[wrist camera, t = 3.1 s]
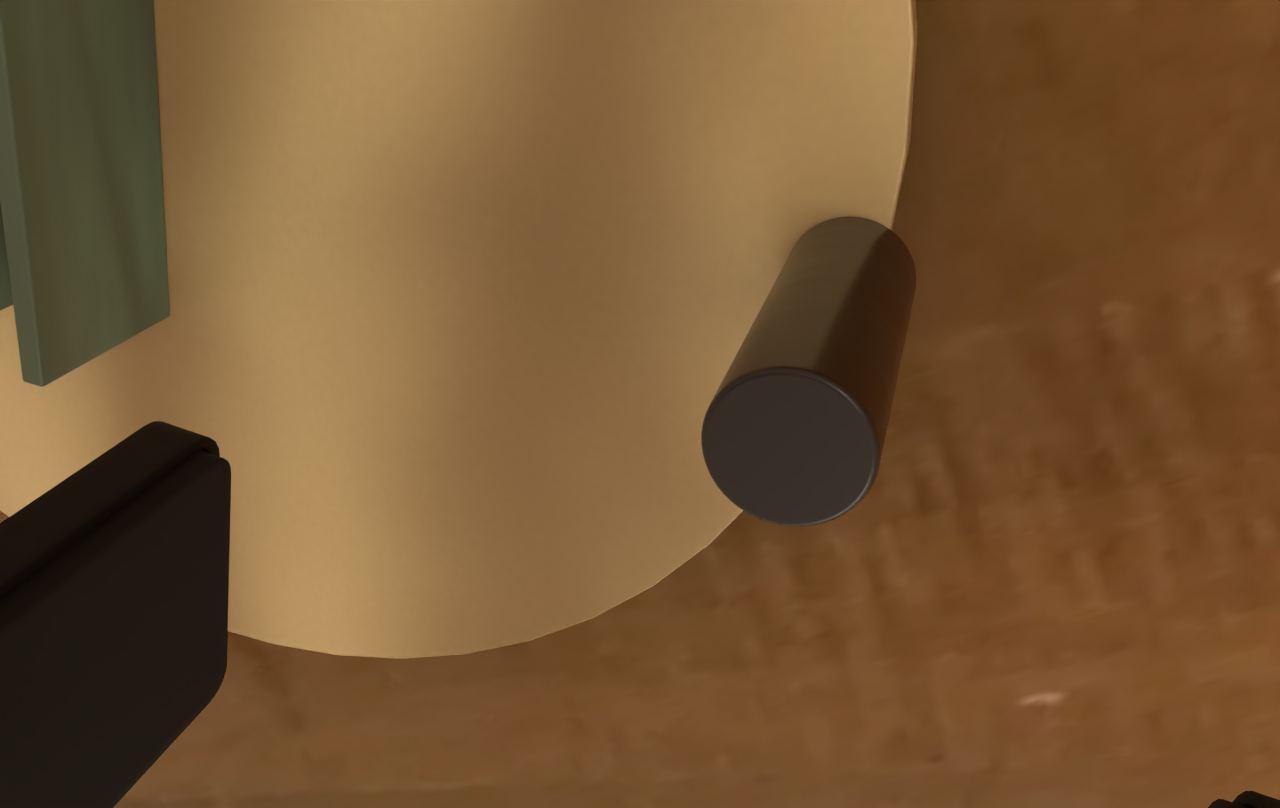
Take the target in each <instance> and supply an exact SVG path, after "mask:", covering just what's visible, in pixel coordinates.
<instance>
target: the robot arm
mask: <svg viewBox="0 0 1280 808" xmlns="http://www.w3.org/2000/svg"><path fill="white" fill-rule="evenodd" d="M230 507H231V466H230V464H229V462H228V461H227V460H226V459H224V458H222V457H220V453H219V447H218V445H217V443H216V441H214V440H213V439H211V438H210V437H207V436H204V435H201V434H198V433H195V432H192V431H189V430H186V429H183V428H180V427H177V426H174V425H171V424H168V423H165V422H163V421H153V422H151V423H149V424H147V425H145V426H143V427H142V428H140V429H139V430H137V431H136V432H134V433H133V434H132V435H130V436H129V437H127V438H126V439H124V440H123V441H121V442H120V443H118V444H117V445H115V446H114V447H112V448H111V449H109V450H108V451H106V452H105V453H103V454H102V455H100V456H99V457H98V458H96V459H95V460H93V461H92V462H90V463H89V464H87V465H86V466H84V467H83V468H81V469H80V470H78V471H77V472H75V473H74V474H72V475H71V476H69V477H68V478H66V479H65V480H64V481H62V482H61V483H59V484H58V485H56V486H55V487H53V488H52V489H50V490H49V491H47V492H46V493H44V494H43V495H41V496H40V497H38V498H37V499H35V500H34V501H32V502H31V503H30V504H28V505H27V506H25V507H24V508H22V509H21V510H19V511H18V512H16V513H15V514H13V515H12V516H10V517H9V518H7V519H6V520H4V521H3V522H1V523H0V808H113V807H114V806H115V805H116V804H117V803H118V801H119V800H120V799H121V798H122V797H123V796H124V795H125V794H126V793H127V792H128V791H129V790H130V788H131V787H132V786H133V785H134V784H135V783H136V782H137V781H138V780H139V779H140V778H141V776H142V775H143V774H144V773H145V772H146V771H147V770H148V769H149V768H150V767H151V766H152V765H153V763H154V762H155V761H156V760H157V759H158V758H159V757H160V756H161V755H162V754H163V753H164V751H165V750H166V749H167V748H168V747H169V746H170V745H171V744H172V743H173V742H174V741H175V739H176V738H177V737H178V736H179V735H180V734H181V733H182V732H183V731H184V730H185V729H186V728H187V726H188V725H189V724H190V723H191V722H192V721H193V720H194V719H195V718H196V717H197V716H198V714H199V713H200V712H201V711H202V710H203V709H204V708H205V707H206V706H207V705H208V704H209V702H210V701H211V700H212V699H213V697H214V696H215V694H216V693H217V691H218V689H219V688H220V685H221V683H222V681H223V678H224V675H225V672H226V666H227V637H228V594H229V551H230ZM1208 808H1280V800H1277V799H1274V798H1271V797H1268V796H1265V795H1262V794H1259V793H1256V792H1254V791H1245V792H1243V793H1242V794H1240V795H1238V796H1237V797H1236V799H1235V800H1234V801H1233V802H1229V801H1226V800H1223V799H1217V800H1216V801H1214V802H1212V804H1211V805H1210V806H1209V807H1208Z"/></svg>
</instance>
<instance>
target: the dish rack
mask: <svg viewBox="0 0 1280 808" xmlns="http://www.w3.org/2000/svg"><path fill="white" fill-rule="evenodd" d="M917 37H918V31H917V14H916V0H0V511H2V512H3V513H4V514H6V515H7V516H8V517H10V516H12V515H13V514H15V513H16V512H18V511H19V510H21V509H22V508H24V507H25V506H27V505H28V504H30V503H31V502H32V501H34V500H35V499H37V498H38V497H40V496H41V495H43V494H44V493H46V492H47V491H49V490H50V489H52V488H53V487H55V486H56V485H58V484H59V483H61V482H62V481H64V480H65V479H66V478H68V477H69V476H71V475H72V474H74V473H75V472H77V471H78V470H80V469H81V468H83V467H84V466H86V465H87V464H89V463H90V462H92V461H93V460H95V459H96V458H98V457H99V456H100V455H102V454H103V453H105V452H106V451H108V450H109V449H111V448H112V447H114V446H115V445H117V444H118V443H120V442H121V441H123V440H124V439H126V438H127V437H129V436H130V435H132V434H133V433H134V432H136V431H137V430H139V429H140V428H142V427H143V426H145V425H147V424H149V423H151V422H153V421H163V422H165V423H168V424H171V425H174V426H177V427H180V428H183V429H186V430H189V431H192V432H195V433H198V434H201V435H204V436H207V437H210V438H211V439H213V440H214V441H216V443H217V445H218V447H219V453H220V457H222V458H224V459H226V460H227V461H228V462H229V464H230V466H231V507H230V551H229V594H228V631H230V632H233V633H236V634H240V635H243V636H247V637H250V638H254V639H257V640H261V641H264V642H268V643H271V644H276V645H281V646H287V647H293V648H299V649H305V650H310V651H316V652H322V653H328V654H334V655H344V656H362V657H380V658H399V659H404V658H418V657H432V656H446V655H461V654H469V653H474V652H479V651H483V650H488V649H493V648H498V647H503V646H508V645H513V644H518V643H522V642H527V641H531V640H534V639H537V638H539V637H542V636H545V635H548V634H551V633H553V632H556V631H559V630H562V629H565V628H567V627H570V626H573V625H576V624H579V623H581V622H584V621H587V620H590V619H592V618H594V617H596V616H598V615H600V614H602V613H604V612H606V611H607V610H609V609H611V608H613V607H615V606H617V605H619V604H621V603H622V602H624V601H626V600H628V599H630V598H632V597H634V596H636V595H638V594H639V593H641V592H643V591H645V590H647V589H649V588H651V587H653V586H654V585H655V584H657V583H658V582H660V581H661V580H662V579H664V578H665V577H666V576H668V575H669V574H670V573H672V572H673V571H674V570H676V569H677V568H678V567H680V566H681V565H682V564H684V563H685V562H687V561H688V560H689V559H691V558H692V557H693V556H695V555H696V554H697V553H699V552H700V551H701V550H703V549H704V548H705V547H707V546H708V545H709V544H711V543H712V542H713V541H714V540H715V539H716V538H717V537H718V536H719V535H720V534H721V533H722V532H723V531H724V530H725V529H726V528H727V527H728V526H729V525H730V524H731V523H732V522H733V521H734V520H735V519H736V518H737V517H738V516H739V515H740V514H741V513H742V512H743V511H745V512H747V513H748V514H750V515H752V516H754V517H756V518H758V519H761V520H764V521H767V522H770V523H774V524H778V525H784V526H812V525H817V524H822V523H825V522H828V521H831V520H834V519H836V518H838V517H840V516H841V515H843V514H845V513H847V512H848V511H850V510H851V509H852V508H854V507H855V506H856V505H857V504H858V503H859V502H860V501H861V500H862V499H863V498H864V497H865V496H866V494H867V493H868V492H869V490H870V488H871V487H872V485H873V483H874V481H875V478H876V476H877V473H878V469H879V464H880V460H881V455H882V450H883V445H884V440H885V435H886V430H887V425H888V420H889V416H890V411H891V406H892V401H893V396H894V391H895V386H896V381H897V376H898V371H899V367H900V362H901V357H902V352H903V347H904V342H905V337H906V332H907V327H908V323H909V318H910V313H911V308H912V303H913V298H914V293H915V288H916V270H915V265H914V262H913V259H912V256H911V254H910V252H909V250H908V248H907V247H906V245H905V244H904V243H903V241H902V240H901V239H900V238H899V237H898V236H897V235H896V234H895V233H894V232H893V231H892V228H893V223H894V218H895V213H896V208H897V203H898V199H899V194H900V189H901V184H902V179H903V174H904V169H905V165H906V160H907V155H908V150H909V145H910V136H911V122H912V108H913V94H914V80H915V66H916V51H917Z"/></svg>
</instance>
